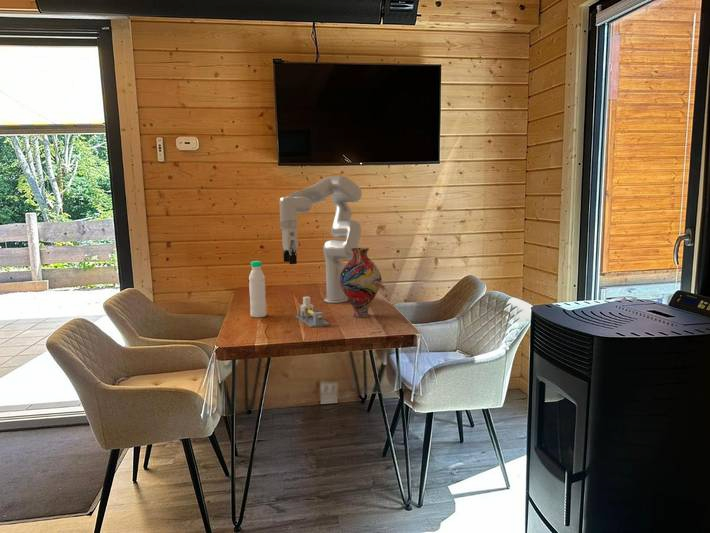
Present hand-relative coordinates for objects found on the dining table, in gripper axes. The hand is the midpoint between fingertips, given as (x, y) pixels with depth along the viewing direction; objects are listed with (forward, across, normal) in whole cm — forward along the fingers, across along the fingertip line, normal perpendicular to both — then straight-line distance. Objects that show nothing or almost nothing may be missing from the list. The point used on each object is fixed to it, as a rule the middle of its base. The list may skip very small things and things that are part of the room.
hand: (290, 262), depth 217 cm
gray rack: (+24, -17, -4) cm, 29 cm away
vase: (+24, -17, -27) cm, 40 cm away
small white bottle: (+22, -11, -4) cm, 25 cm away
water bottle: (+24, +4, +15) cm, 28 cm away
